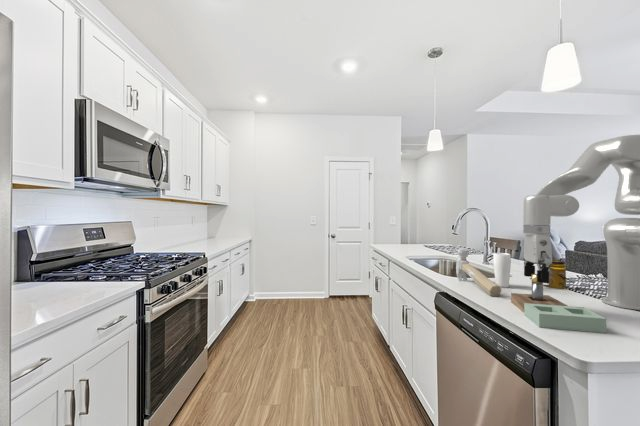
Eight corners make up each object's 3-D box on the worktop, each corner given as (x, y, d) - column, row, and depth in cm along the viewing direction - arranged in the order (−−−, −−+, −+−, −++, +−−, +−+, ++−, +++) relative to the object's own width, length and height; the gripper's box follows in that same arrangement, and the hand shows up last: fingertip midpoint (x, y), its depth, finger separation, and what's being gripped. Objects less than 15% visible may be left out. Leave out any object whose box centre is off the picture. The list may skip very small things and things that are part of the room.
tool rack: (583, 319, 87) (583, 307, 87) (606, 333, 78) (606, 318, 78) (524, 315, 92) (524, 303, 92) (539, 327, 82) (539, 313, 82)
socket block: (548, 304, 102) (548, 295, 102) (568, 316, 90) (568, 305, 90) (511, 302, 105) (511, 293, 105) (525, 313, 93) (525, 302, 93)
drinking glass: (495, 287, 126) (494, 254, 126) (492, 284, 132) (491, 252, 132) (512, 289, 123) (512, 255, 123) (509, 285, 130) (508, 253, 130)
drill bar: (540, 307, 99) (540, 274, 99) (545, 310, 96) (544, 276, 96) (530, 307, 100) (529, 273, 100) (534, 310, 96) (534, 275, 97)
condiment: (570, 290, 121) (569, 262, 121) (546, 288, 124) (545, 261, 124) (562, 286, 128) (562, 260, 128) (539, 284, 131) (539, 259, 131)
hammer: (504, 273, 110) (466, 247, 139) (492, 273, 110) (456, 247, 140) (498, 309, 114) (462, 276, 143) (487, 309, 114) (453, 276, 143)
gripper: (563, 232, 88) (562, 286, 88) (537, 229, 105) (536, 275, 105) (535, 231, 90) (535, 284, 90) (514, 229, 107) (513, 273, 107)
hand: (535, 279), depth 98 cm, fingers open, 9 cm apart
